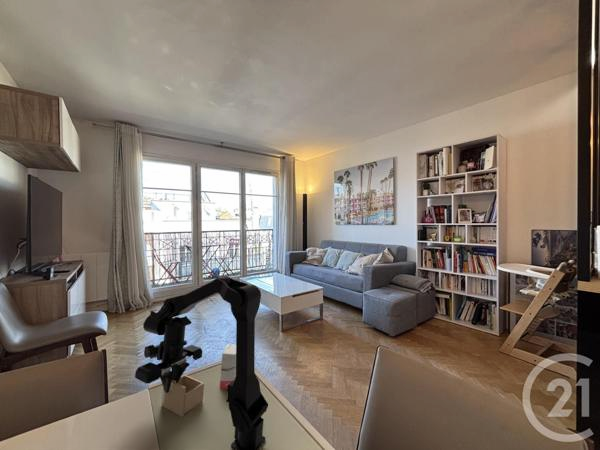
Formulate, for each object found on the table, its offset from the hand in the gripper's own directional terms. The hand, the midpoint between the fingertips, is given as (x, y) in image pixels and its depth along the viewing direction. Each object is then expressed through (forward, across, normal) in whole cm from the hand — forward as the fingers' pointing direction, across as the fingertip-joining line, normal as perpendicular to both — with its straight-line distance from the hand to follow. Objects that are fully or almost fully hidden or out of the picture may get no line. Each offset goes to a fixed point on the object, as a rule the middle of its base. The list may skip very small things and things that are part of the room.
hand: (169, 390), depth 75 cm
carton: (+5, -4, +2) cm, 7 cm away
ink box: (+6, -20, +6) cm, 22 cm away
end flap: (+5, 0, +2) cm, 5 cm away
